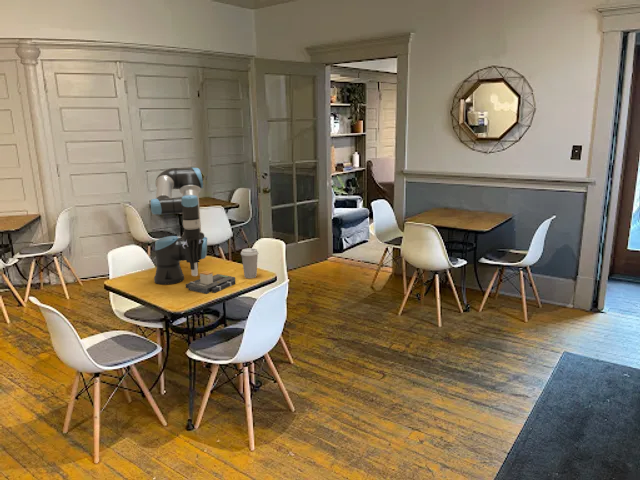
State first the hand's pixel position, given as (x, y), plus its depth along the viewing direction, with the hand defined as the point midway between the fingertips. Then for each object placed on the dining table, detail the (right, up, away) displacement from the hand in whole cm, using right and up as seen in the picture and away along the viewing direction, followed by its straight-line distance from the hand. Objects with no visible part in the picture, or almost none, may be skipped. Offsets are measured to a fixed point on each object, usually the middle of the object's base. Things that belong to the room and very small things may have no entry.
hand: (194, 275), depth 237 cm
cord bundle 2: (+12, -7, +9) cm, 17 cm away
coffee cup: (+23, -3, +28) cm, 36 cm away
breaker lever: (+4, -4, +9) cm, 10 cm away
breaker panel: (+6, -6, +13) cm, 15 cm away
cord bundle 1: (-1, -5, +16) cm, 17 cm away
